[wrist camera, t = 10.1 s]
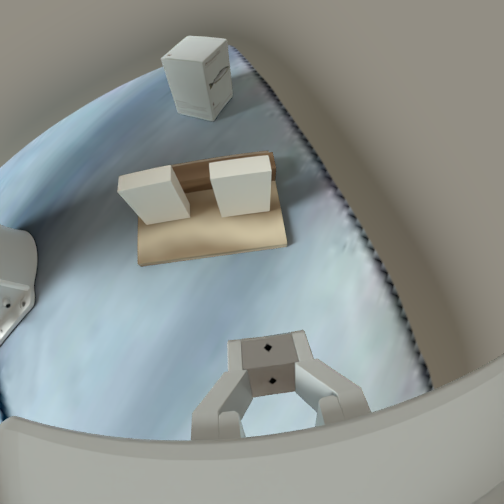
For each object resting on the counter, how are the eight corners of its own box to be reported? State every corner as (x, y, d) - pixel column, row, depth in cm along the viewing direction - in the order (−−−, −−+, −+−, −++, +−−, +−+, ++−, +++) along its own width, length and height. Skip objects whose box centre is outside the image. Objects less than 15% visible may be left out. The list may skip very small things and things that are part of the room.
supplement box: (214, 123, 43) (201, 62, 31) (177, 114, 44) (158, 57, 32) (234, 96, 45) (228, 38, 33) (199, 88, 46) (186, 34, 34)
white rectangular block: (269, 211, 36) (271, 171, 27) (221, 217, 36) (210, 179, 27) (267, 197, 36) (268, 154, 28) (220, 203, 36) (209, 162, 28)
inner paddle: (190, 217, 36) (170, 180, 27) (146, 225, 36) (117, 191, 27) (189, 203, 36) (170, 164, 28) (146, 211, 36) (119, 176, 28)
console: (286, 246, 36) (289, 234, 32) (141, 266, 36) (128, 257, 32) (271, 166, 40) (271, 148, 36) (142, 186, 40) (132, 171, 36)
